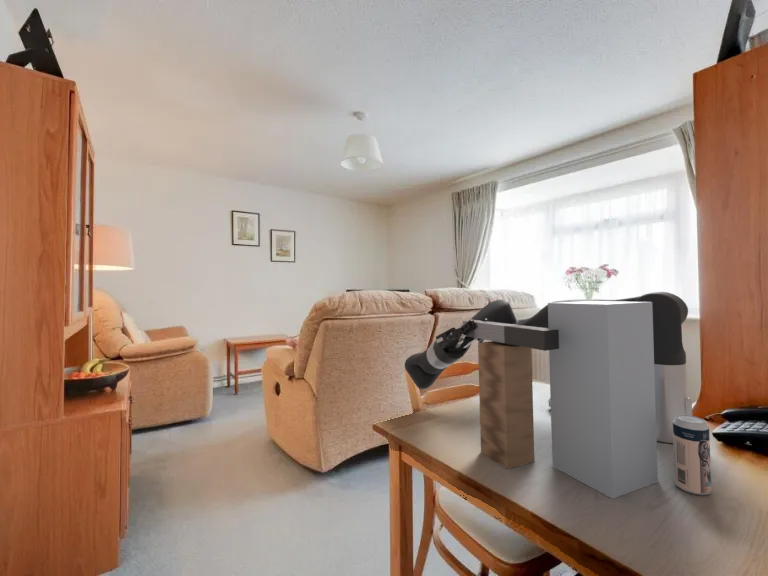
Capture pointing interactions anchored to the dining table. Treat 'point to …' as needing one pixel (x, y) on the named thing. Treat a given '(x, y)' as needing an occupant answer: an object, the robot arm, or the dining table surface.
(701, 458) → the cream and blue canister
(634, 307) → the tall stand
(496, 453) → the walnut block
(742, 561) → the dining table surface
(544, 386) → the dining table surface
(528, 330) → the dark grey long bar
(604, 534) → the dining table surface
